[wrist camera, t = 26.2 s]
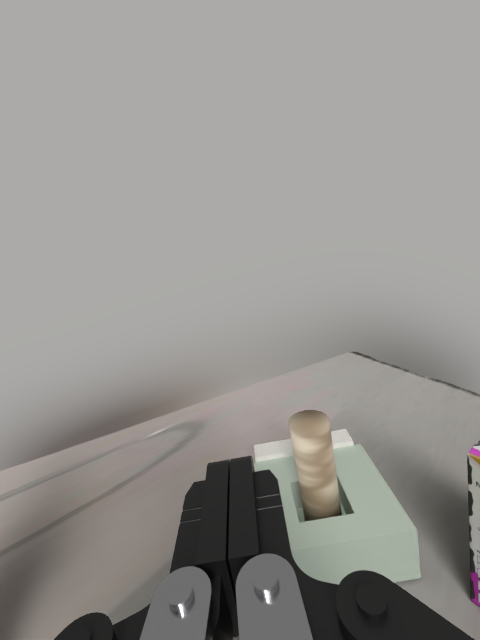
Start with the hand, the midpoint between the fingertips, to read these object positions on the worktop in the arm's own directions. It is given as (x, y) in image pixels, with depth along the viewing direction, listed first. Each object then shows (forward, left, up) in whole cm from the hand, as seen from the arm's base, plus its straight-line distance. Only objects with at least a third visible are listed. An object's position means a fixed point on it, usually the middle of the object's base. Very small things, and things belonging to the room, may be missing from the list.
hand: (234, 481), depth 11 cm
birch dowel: (+6, +22, -26) cm, 34 cm away
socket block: (+6, +23, -28) cm, 37 cm away
